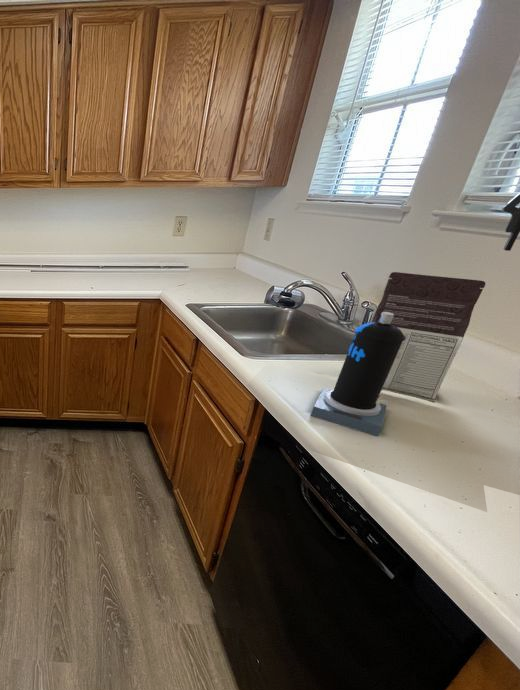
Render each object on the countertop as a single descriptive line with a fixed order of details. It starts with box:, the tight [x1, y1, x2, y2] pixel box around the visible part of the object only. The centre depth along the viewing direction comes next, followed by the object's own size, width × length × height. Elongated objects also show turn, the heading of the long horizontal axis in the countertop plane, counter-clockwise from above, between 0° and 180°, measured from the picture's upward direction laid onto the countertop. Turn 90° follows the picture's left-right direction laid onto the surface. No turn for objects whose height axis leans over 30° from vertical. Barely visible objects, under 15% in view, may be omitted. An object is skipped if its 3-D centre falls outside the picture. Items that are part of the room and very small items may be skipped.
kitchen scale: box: [310, 387, 388, 437], centre depth 92 cm, size 12×12×3 cm
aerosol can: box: [331, 312, 406, 409], centre depth 88 cm, size 8×8×20 cm
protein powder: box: [371, 271, 486, 403], centre depth 99 cm, size 16×9×28 cm, turn 54°
